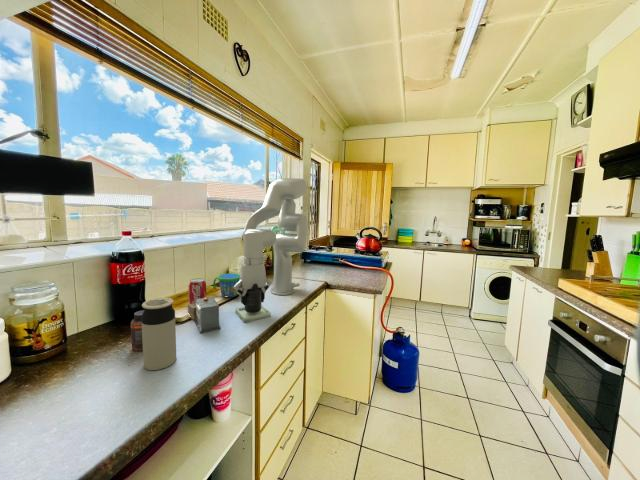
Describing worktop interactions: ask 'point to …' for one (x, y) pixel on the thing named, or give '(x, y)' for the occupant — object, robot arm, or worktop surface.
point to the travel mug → (158, 333)
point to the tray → (252, 314)
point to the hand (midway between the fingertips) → (253, 302)
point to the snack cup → (227, 284)
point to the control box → (207, 314)
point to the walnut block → (192, 311)
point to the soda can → (196, 290)
